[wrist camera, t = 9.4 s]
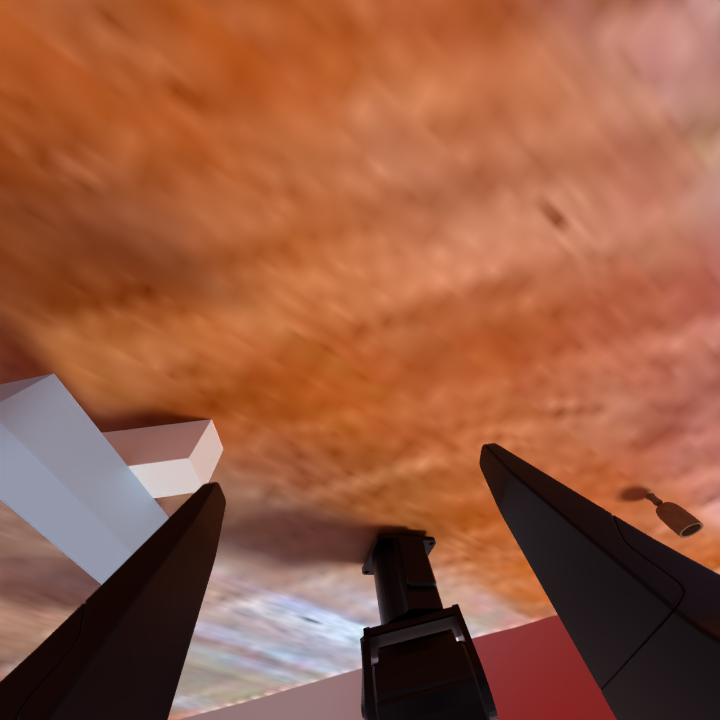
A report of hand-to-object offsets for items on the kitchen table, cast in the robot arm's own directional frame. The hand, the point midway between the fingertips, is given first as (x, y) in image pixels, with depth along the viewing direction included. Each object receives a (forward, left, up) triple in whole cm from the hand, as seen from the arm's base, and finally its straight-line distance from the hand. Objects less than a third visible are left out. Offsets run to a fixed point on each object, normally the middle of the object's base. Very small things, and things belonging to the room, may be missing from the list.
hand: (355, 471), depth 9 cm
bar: (-11, +12, -7) cm, 18 cm away
